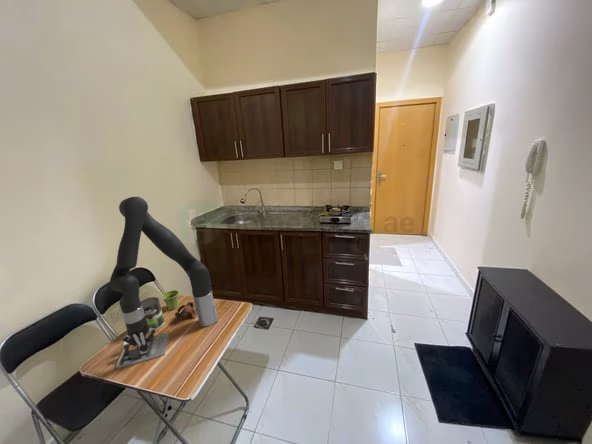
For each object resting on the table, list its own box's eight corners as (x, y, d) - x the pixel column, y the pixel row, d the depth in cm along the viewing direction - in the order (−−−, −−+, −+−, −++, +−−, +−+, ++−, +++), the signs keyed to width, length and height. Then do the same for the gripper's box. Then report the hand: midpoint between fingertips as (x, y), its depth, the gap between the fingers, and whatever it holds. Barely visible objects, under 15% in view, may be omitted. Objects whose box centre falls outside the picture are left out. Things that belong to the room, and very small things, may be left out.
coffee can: (165, 326, 131) (158, 303, 127) (142, 334, 126) (135, 311, 123) (165, 316, 140) (159, 294, 136) (144, 323, 135) (137, 301, 132)
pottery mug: (193, 322, 133) (182, 313, 130) (181, 328, 136) (170, 320, 132) (201, 304, 143) (191, 296, 140) (189, 310, 146) (179, 302, 143)
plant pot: (185, 304, 150) (182, 292, 147) (170, 313, 142) (167, 300, 140) (176, 300, 154) (173, 288, 152) (161, 309, 147) (158, 296, 145)
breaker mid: (135, 349, 114) (131, 339, 113) (133, 352, 112) (130, 342, 111) (127, 351, 113) (124, 341, 112) (126, 354, 111) (122, 344, 110)
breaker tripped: (140, 353, 111) (137, 343, 110) (139, 357, 109) (136, 347, 108) (133, 355, 110) (129, 345, 109) (131, 359, 108) (128, 349, 107)
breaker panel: (169, 335, 124) (168, 330, 123) (165, 354, 112) (163, 350, 111) (126, 347, 119) (124, 342, 118) (116, 369, 106) (114, 364, 105)
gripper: (153, 308, 111) (162, 340, 116) (119, 316, 107) (130, 349, 112) (150, 318, 104) (159, 351, 109) (113, 327, 100) (125, 361, 105)
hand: (144, 350), depth 110 cm, fingers closed
